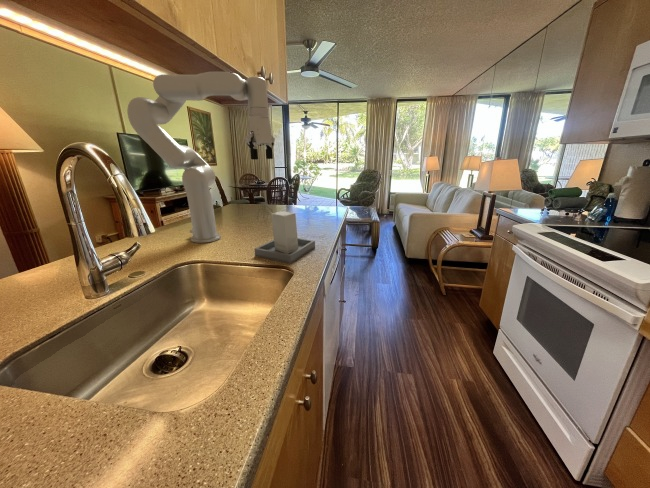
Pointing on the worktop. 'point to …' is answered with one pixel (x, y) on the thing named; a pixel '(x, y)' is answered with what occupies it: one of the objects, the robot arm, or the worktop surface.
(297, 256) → the tray
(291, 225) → the skincare box
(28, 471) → the worktop surface
